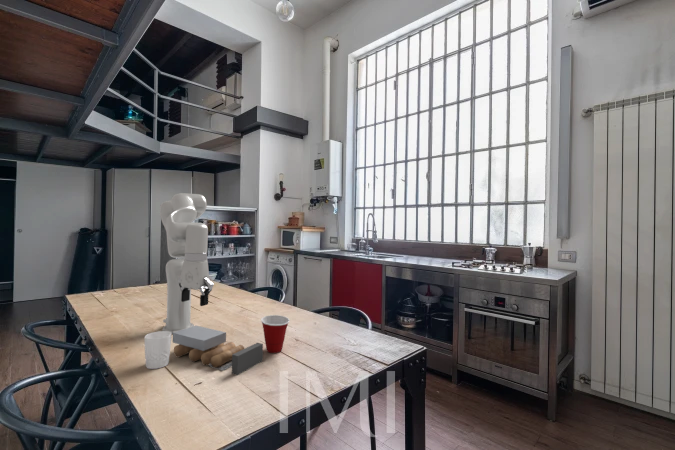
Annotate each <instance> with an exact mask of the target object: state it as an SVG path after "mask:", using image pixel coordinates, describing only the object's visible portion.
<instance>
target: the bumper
mask: <svg viewBox="0 0 675 450" xmlns="http://www.w3.org/2000/svg"><path fill="white" fill-rule="evenodd" d="M244 348H245V349H243V350H241V351H239V352H237V353H234V354H232V366H231V374H232V375H236V376H238V375H240V374H242V373H244V372H246V371H248V370H250V369H251V368H253V367H255V366H257V365H258V364H260V363H262V362H263V357H264V356H263V355H264V354H263V353H264V352H263V351H264V350H263V349H264V344H263V343H260V342H256V343H254V344H252V345H250V346H247V347H244Z"/></svg>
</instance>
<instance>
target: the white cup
mask: <svg viewBox="0 0 675 450" xmlns="http://www.w3.org/2000/svg"><path fill="white" fill-rule="evenodd" d="M171 345H172V334H171V332H168V331H163V330H160V331H158V330H157V331H152V332H149V333H147V334H146V335H144V358H145V367H146V368H147V369H149V370H155V369H161V368H164V367H166V366H168V365H169V363H170V355H171Z"/></svg>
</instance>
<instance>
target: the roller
mask: <svg viewBox="0 0 675 450" xmlns="http://www.w3.org/2000/svg"><path fill="white" fill-rule="evenodd" d="M235 346H236V347H234V348H232V349H229V350H227V351H225V352H222V353H220V354H218V355H215V356H213V357H212V358H211V365H212V366H213V367H215V368H216V367H218V366H220V365H222V364H224V363H226V362H229V361H231V360H232V354H234V353H237V352H239V351H241V350H243V349H245V348H246V347H245V346H244V345H242V344H239V345H235ZM215 368H214V369H215Z"/></svg>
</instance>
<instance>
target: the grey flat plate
mask: <svg viewBox="0 0 675 450" xmlns="http://www.w3.org/2000/svg"><path fill="white" fill-rule="evenodd" d="M208 366H209V367H210V368H213V369H216V370H219V371H225V370H226V369H229V368H230V367H231V368H232V360H231V361H229V362H226V363H224V364H222V365H220V366H218V367H216V368H215V367H213V366H212V365H211V363H209V365H208Z"/></svg>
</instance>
